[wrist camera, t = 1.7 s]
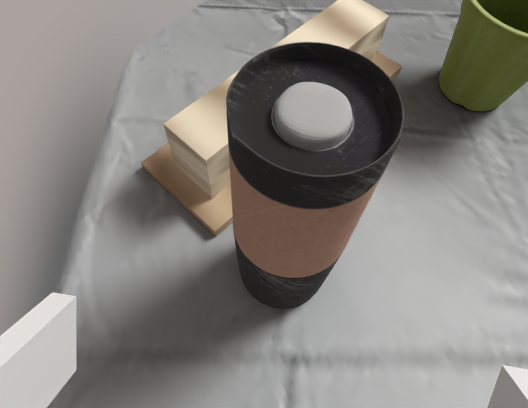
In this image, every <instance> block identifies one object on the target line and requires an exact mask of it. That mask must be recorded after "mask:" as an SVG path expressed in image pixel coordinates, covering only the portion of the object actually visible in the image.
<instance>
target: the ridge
mask: <svg viewBox="0 0 528 408" xmlns="http://www.w3.org/2000/svg"><path fill="white" fill-rule="evenodd" d="M388 18H389V16H388V15H387V14H385V13H383V12H381V11H380V10H378V9H376V8H375V7H373V6H371V5H369V4H368V3H366V2H364V1H363V0H338V1H336V2H335V3H333V4H332V5H331V6H329V7H328V8H326V9H325V10H324V11H322V12H321V13H319V14H318V15H316V16H315V17H314V18H312V19H311V20H309V21H308V22H307V23H305V24H304V25H302V26H301V27H300V28H298V29H297V30H295V31H294V32H292V33H291V34H290V35H288V36H287V37H285V38H284V39H283V40H281V41H280V42H278V43H277V44H276V45H274V46H273V47H271V48H274V47H277V46H280V45H285V44H290V43H297V42H320V43H327V44H332V45H336V46H340V47H343V48H346V49H349V50H352V51H354V52H356V53H359V54H360V55H362V56H364V57H366V58H368V59H369V60H371V61H372V62H373V63H375V64H376V65H377V66H379V67H380V68H381V69H382V70H383V71H384V72H385V73H386V74H387V75H388V76H389V77H390V79H391V80H392V79H393V78H394V77H396V76H397V75H398V74H399V72H400V70H401V68H402V66H400V65H398V64H397V63H395V62H394V61H392V60H390V59H389V58H387V57H386V56H384V55H382V54H381V53H379V52H378V51H377V50H378V48H379V45H380V42H381V39H382V36H383V33H384V30H385V27H386V24H387V21H388ZM271 48H270V49H271ZM238 72H239V71H237V72H236V73H235V74H233V75H232V76H230V77H229V78H228V79H226V80H225V81H223V82H222V83H220V84H219V85H218V86H216V87H215V88H213V89H212V90H211V91H209V92H208V93H206V94H205V95H204V96H202V97H201V98H199V99H198V100H196V101H195V102H194V103H192V104H191V105H189V106H188V107H187V108H185V109H184V110H182V111H181V112H180V113H178V114H177V115H175V116H174V117H172V118H171V119H170V120H168V121H167V122H165V123H164V128H165V131H166V135H167V138H168V142H169V143H167V144H166V145H165V146H163V147H162V148H161V149H159V150H158V151H157V152H155V153H154V154H153V155H151V156H150V157H148V158H147V159H146V160H144V161H143V162H142V166H143V168H144V169H145V170H146V171H147V172H148V173H149V174H150V175H151V176H152V177H153V178H154V179H155V180H156V181H157V182H158V183H159V184H160V185H162V186H163V187H164V188H165V189H166V190H167V191H168V192H169V193H170V194H171V195H172V196H173V197H174V198H175V199H176V200H178V201H179V202H180V203H181V204H182V205H183V206H184V207H185V208H186V209H187V210H188V211H189V212H190V213H191V214H192V215H193V216H195V217H196V218H197V219H198V220H199V221H200V222H201V223H202V224H203V225H204V226H205V227H206V228H207V229H208V230H209V231H211V232H212V233H213V234H214V235H215V236H217V235H218V234H219V233H220V232H222V231H223V230H224V229H225V228H226V227H227V226H228V225H229V224H231V223H232V222H233V215H232V199H231V182H230V165H229V148H228V131H227V107H226V96H227V91H228V88H229V86H230V84H231V82H232V80H233V79H234V77H235V76H236V74H237V73H238Z"/></svg>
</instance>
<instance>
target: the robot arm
mask: <svg viewBox="0 0 528 408" xmlns="http://www.w3.org/2000/svg"><path fill="white" fill-rule="evenodd" d="M75 371H76V296H71V295H65V294H59V293H51V294H50V295H49V296H48V297H47V298H45V299H44V300H43V301H42V302H41V303H39V304H38V305H37V306H36V307H35V308H33V309H32V310H31V311H30V312H29V313H27V314H26V315H25V316H24V317H23V318H21V319H20V320H19V321H18V322H17V323H15V324H14V325H13V326H12V327H11V328H9V329H8V330H7V331H6V332H5V333H4V334H2V335H1V336H0V408H47V407H48V406H49V404H50V403H51V402H52V400H53V399H54V398H55V397H56V395H57V394H58V393H59V392H60V390H61V389H62V388H63V386H64V385H65V384H66V383H67V381H68V380H69V379H70V378H71V376H72V375H73V374H74V372H75ZM488 408H528V369H523V368H516V367H510V366H504V365H502V368H501V371H500V374H499V377H498V379H497V382H496V385H495V388H494V391H493V394H492V396H491V399H490V402H489V405H488Z"/></svg>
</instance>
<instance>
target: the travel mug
mask: <svg viewBox="0 0 528 408" xmlns="http://www.w3.org/2000/svg"><path fill="white" fill-rule="evenodd" d="M226 107H227V131H228V148H229V165H230V182H231V199H232V215H233V230H234V237H235V243H236V250H237V256H238V262H239V268H240V273H241V277H242V280H243V283H244V285H245V286H246V288H247V290H248V291H249V292H250V293H251V294H252V295H253V296H254V297H255V298H256V299H257V300H259V301H260V302H262V303H264V304H266V305H269V306H272V307H277V308H291V307H295V306H298V305H300V304H303V303H304V302H306V301H308V300H309V299H310V298H311V297H312V296H313V295H314V294H315V293H316V292H317V291H318V289H319V288H320V287H321V285H322V284H323V282H324V280H325V279H326V277H327V276H328V274H329V273H330V271H331V270H332V268H333V266H334V265H335V263H336V262H337V260H338V259H339V257H340V255H341V254H342V252H343V250H344V249H345V247H346V245H347V243H348V241H349V239H350V237H351V235H352V233H353V231H354V229H355V227H356V225H357V223H358V221H359V219H360V217H361V215H362V213H363V211H364V210H365V208H366V206H367V204H368V202H369V200H370V198H371V196H372V194H373V192H374V190H375V188H376V186H377V184H378V182H379V180H380V178H381V176H382V174H383V172H384V170H385V168H386V167H387V165H388V163H389V161H390V159H391V157H392V155H393V153H394V151H395V149H396V147H397V145H398V143H399V140H400V137H401V134H402V131H403V126H404V108H403V102H402V99H401V96H400V94H399V92H398V90H397V88H396V86H395V84H394V83H393V81H392V80H391V79H390V77H389V76H388V75H387V74H386V73H385V72H384V71H383V70H382V69H381V68H380V67H379V66H377V65H376V64H375V63H373V62H372V61H371V60H369V59H368V58H366V57H364V56H362V55H360V54H359V53H356V52H354V51H352V50H349V49H346V48H343V47H340V46H336V45H332V44H327V43H320V42H297V43H290V44H285V45H280V46H277V47H274V48H271V49H268V50H266V51H264V52H262V53H260V54H259V55H257V56H255V57H254V58H252V59H251V60H250V61H249V62H247V63H246V64H245V65H244V66H243V67H242V68H241V69H240V70H239V72H238V73H237V74H236V76H235V77H234V79H233V80H232V82H231V84H230V86H229V88H228V91H227V96H226Z"/></svg>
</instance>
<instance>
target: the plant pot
mask: <svg viewBox="0 0 528 408" xmlns="http://www.w3.org/2000/svg"><path fill="white" fill-rule="evenodd" d="M527 81H528V0H463V2H462V5H461V14H460V17H459V20H458V23H457V26H456V29H455V31H454V34H453V37H452V40H451V43H450V46H449V49H448V52H447V55H446V58H445V60H444V63H443V66H442V69H441V72H440V75H439V84H440V88H441V90H442V92H443V93H444V94H445V96H446V97H447V98H448V99H449V100H450V101H452V102H453V103H456V104H460V105H462V106H464V107H466V108H467V109H468V110H472V111H489V110H492V109H494V108H496V107H498V106H499V105H500V104H502V103H503V102H504V101H505V100H506V99H507V98H509V97H510V96H511V95H512V94H513V93H514V92H516V91H517V90H518V89H519V88H520V87H521V86H522V85H524V84H525V83H526V82H527Z"/></svg>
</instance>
